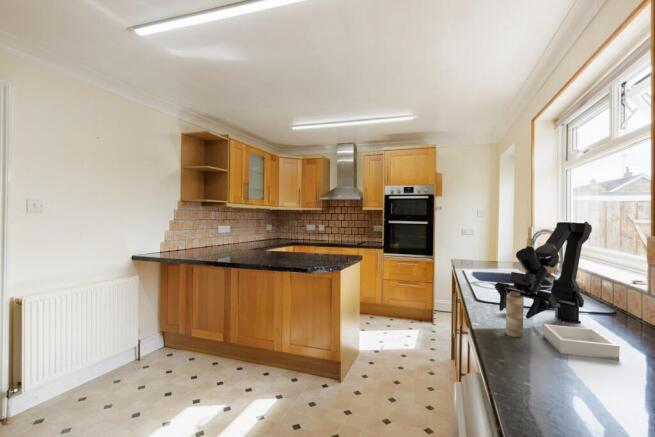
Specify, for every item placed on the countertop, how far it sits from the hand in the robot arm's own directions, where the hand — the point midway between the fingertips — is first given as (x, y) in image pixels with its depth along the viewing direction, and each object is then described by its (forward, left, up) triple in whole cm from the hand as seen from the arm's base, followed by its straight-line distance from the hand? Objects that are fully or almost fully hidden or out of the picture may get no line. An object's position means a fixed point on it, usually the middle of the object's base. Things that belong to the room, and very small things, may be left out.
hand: (512, 314), depth 106 cm
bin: (-17, +5, -7) cm, 19 cm away
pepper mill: (-1, -1, -7) cm, 7 cm away
